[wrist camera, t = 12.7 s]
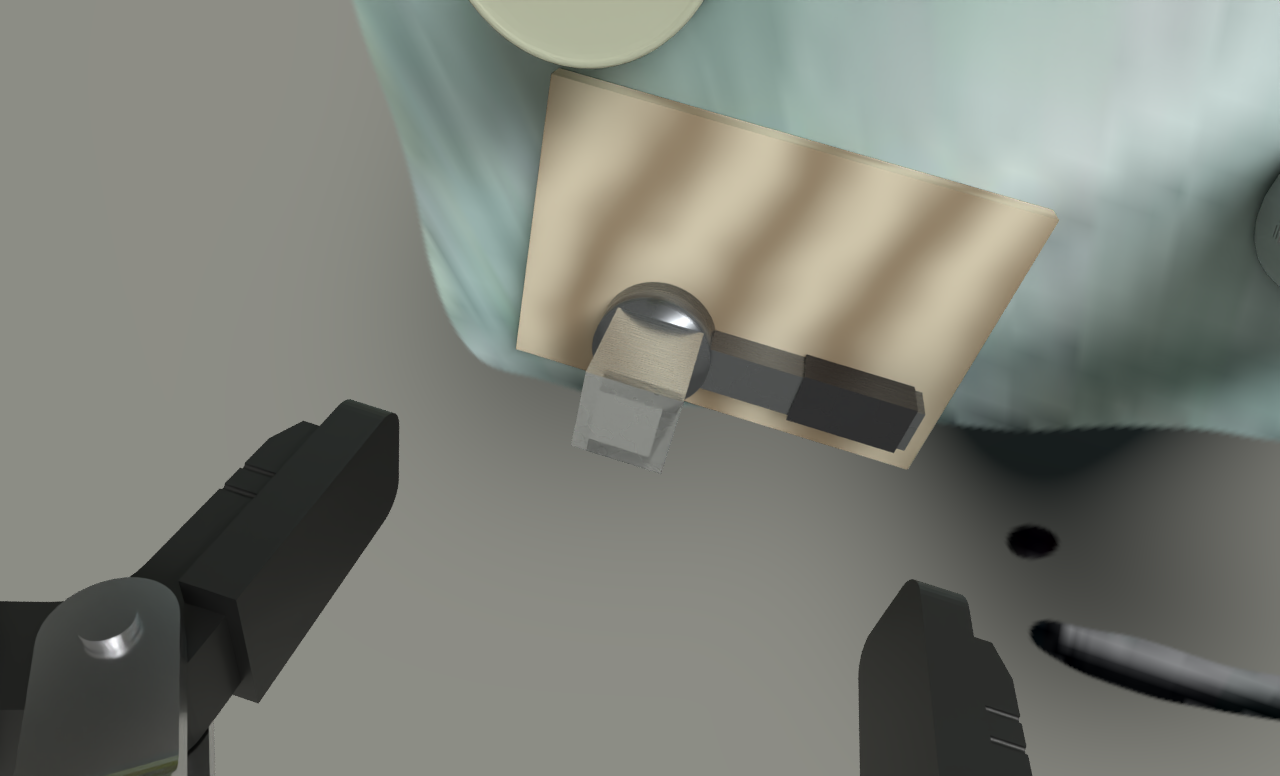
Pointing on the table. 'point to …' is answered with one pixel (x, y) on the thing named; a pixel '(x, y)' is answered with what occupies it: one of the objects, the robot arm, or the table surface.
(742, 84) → the table surface
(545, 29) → the cream cylinder
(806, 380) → the ratchet
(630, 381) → the grey pocketed block
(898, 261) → the board
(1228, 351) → the table surface
